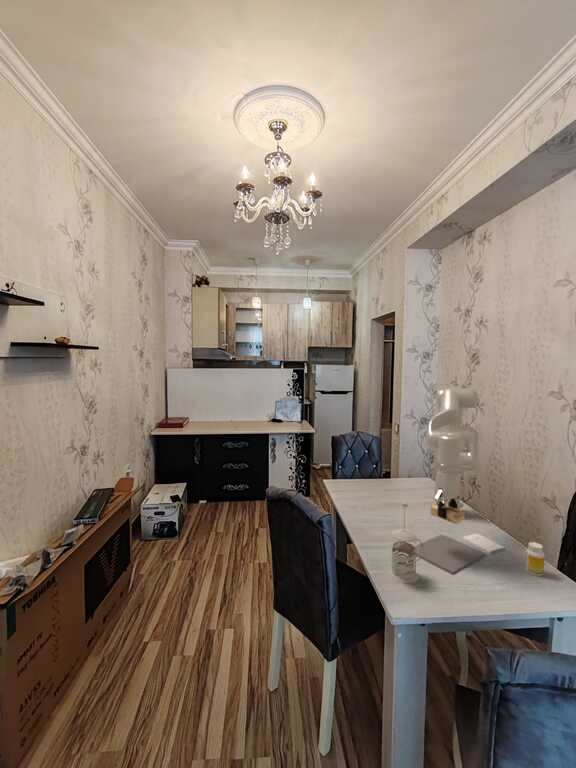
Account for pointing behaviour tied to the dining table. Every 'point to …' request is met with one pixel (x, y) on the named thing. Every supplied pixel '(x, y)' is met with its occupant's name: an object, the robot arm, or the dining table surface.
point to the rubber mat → (448, 553)
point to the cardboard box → (450, 514)
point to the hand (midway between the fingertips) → (447, 514)
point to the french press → (401, 568)
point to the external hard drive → (484, 543)
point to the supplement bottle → (535, 559)
